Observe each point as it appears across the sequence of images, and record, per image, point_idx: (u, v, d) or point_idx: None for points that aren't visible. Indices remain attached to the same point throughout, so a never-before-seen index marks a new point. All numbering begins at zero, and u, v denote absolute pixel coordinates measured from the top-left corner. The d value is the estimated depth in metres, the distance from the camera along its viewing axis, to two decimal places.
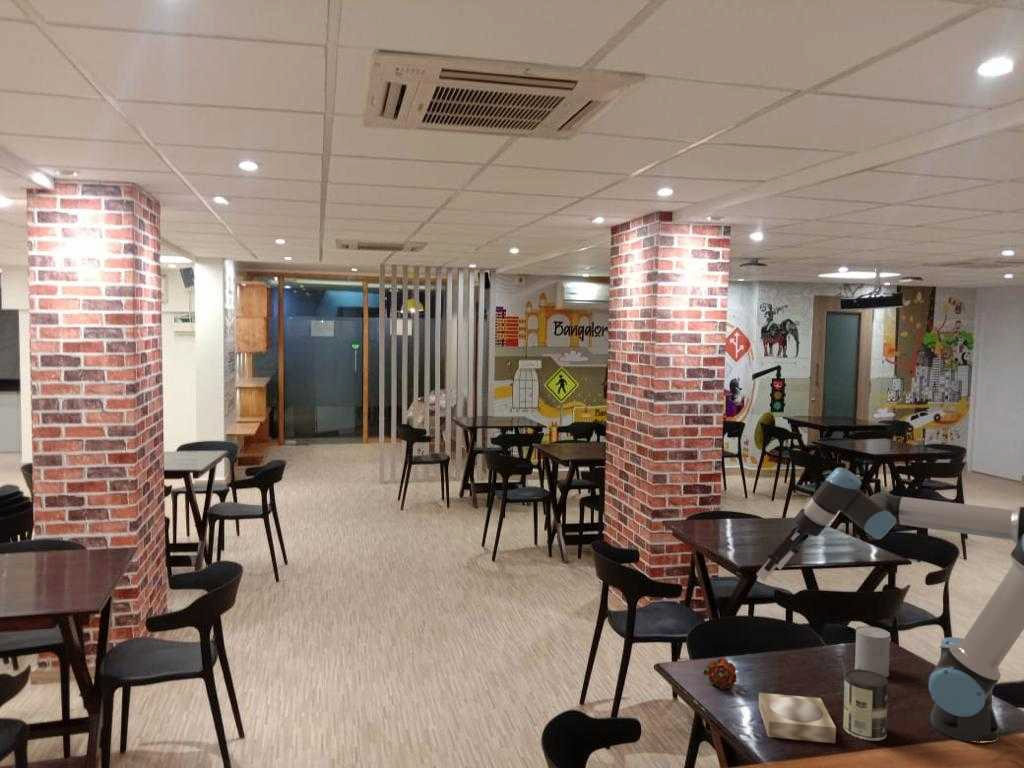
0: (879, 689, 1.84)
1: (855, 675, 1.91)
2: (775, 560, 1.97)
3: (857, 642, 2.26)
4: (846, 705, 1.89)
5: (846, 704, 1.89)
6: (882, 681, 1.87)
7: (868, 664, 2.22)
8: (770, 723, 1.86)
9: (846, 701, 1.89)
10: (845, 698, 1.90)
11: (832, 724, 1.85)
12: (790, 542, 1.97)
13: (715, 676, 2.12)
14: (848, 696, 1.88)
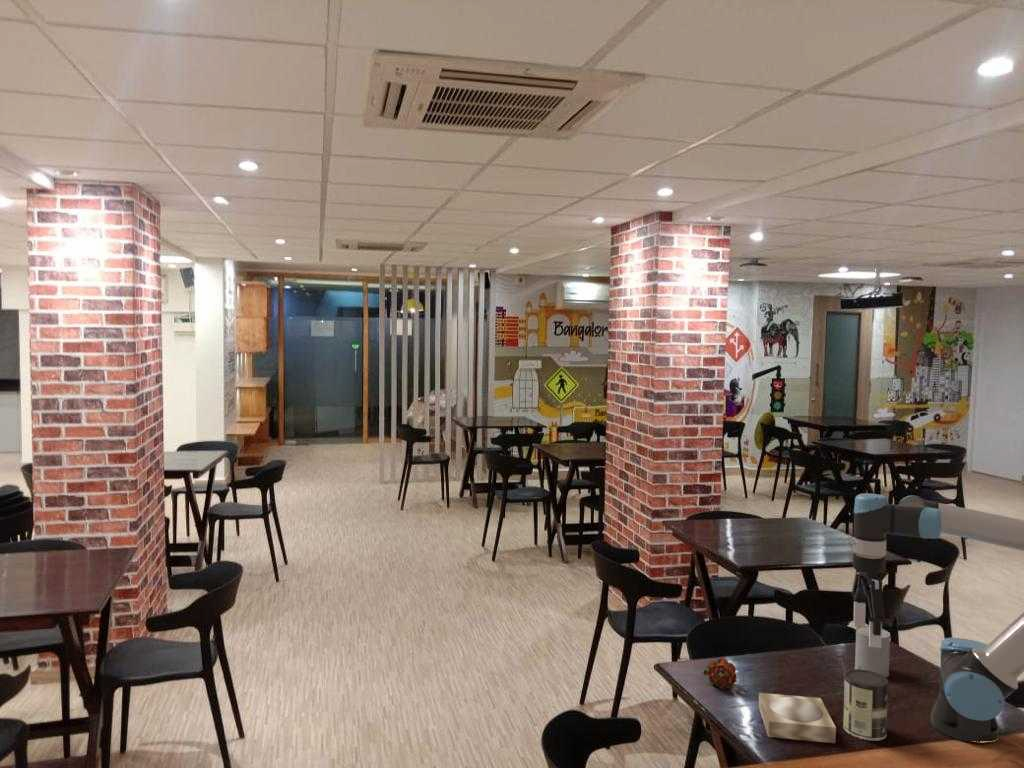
0: (879, 689, 1.84)
1: (855, 675, 1.91)
2: (882, 619, 1.79)
3: (857, 642, 2.26)
4: (846, 705, 1.89)
5: (846, 704, 1.89)
6: (882, 681, 1.87)
7: (868, 664, 2.22)
8: (770, 723, 1.86)
9: (846, 701, 1.89)
10: (845, 698, 1.90)
11: (832, 724, 1.85)
12: (878, 592, 1.81)
13: (715, 676, 2.12)
14: (848, 696, 1.88)
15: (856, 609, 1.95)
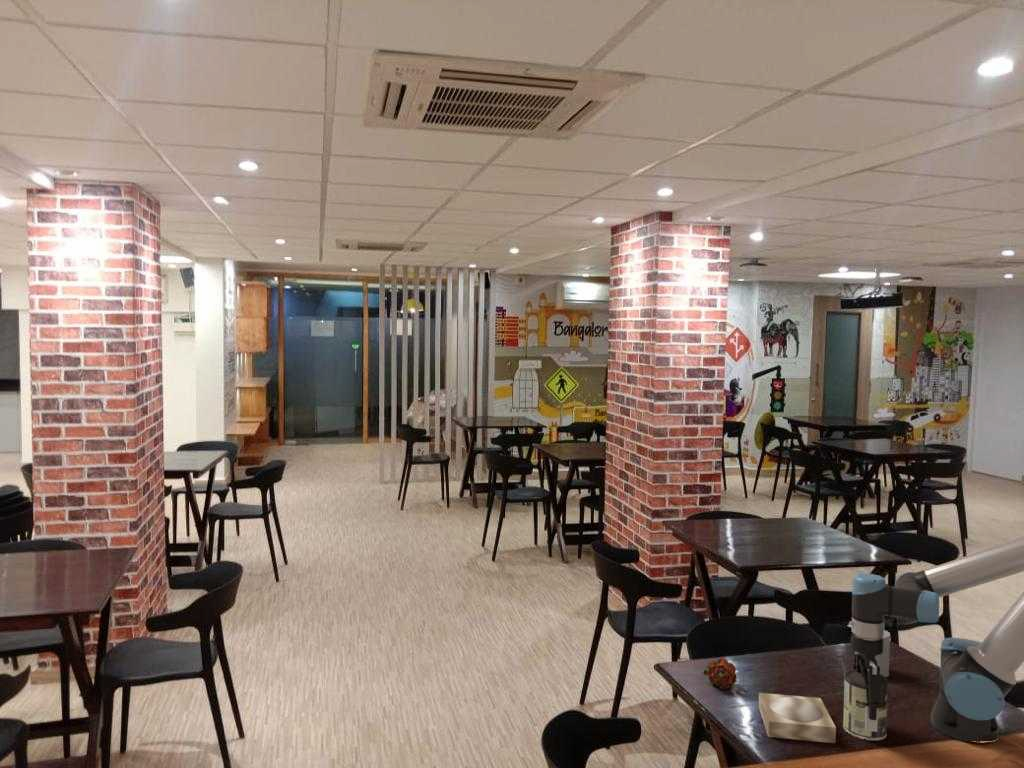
0: None
1: (855, 675, 1.91)
2: (878, 705, 1.81)
3: None
4: (846, 705, 1.89)
5: (846, 704, 1.89)
6: (882, 681, 1.87)
7: None
8: (770, 723, 1.86)
9: (846, 701, 1.89)
10: (845, 698, 1.90)
11: (832, 724, 1.85)
12: (875, 678, 1.82)
13: (715, 676, 2.12)
14: (848, 696, 1.88)
15: None
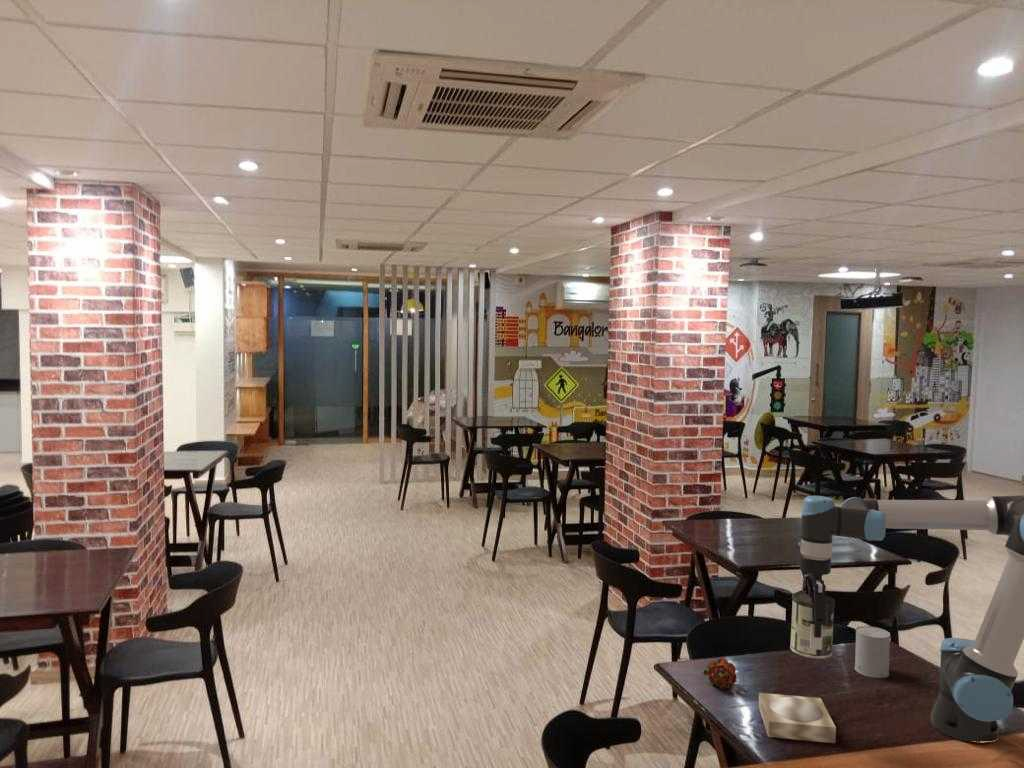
0: (825, 608, 1.86)
1: (803, 596, 1.92)
2: (822, 621, 1.83)
3: (857, 642, 2.26)
4: (793, 625, 1.91)
5: (793, 624, 1.91)
6: (828, 601, 1.89)
7: (868, 664, 2.22)
8: (770, 723, 1.86)
9: (793, 621, 1.91)
10: (792, 618, 1.92)
11: (832, 724, 1.85)
12: (821, 595, 1.84)
13: (715, 676, 2.12)
14: (795, 616, 1.90)
15: None
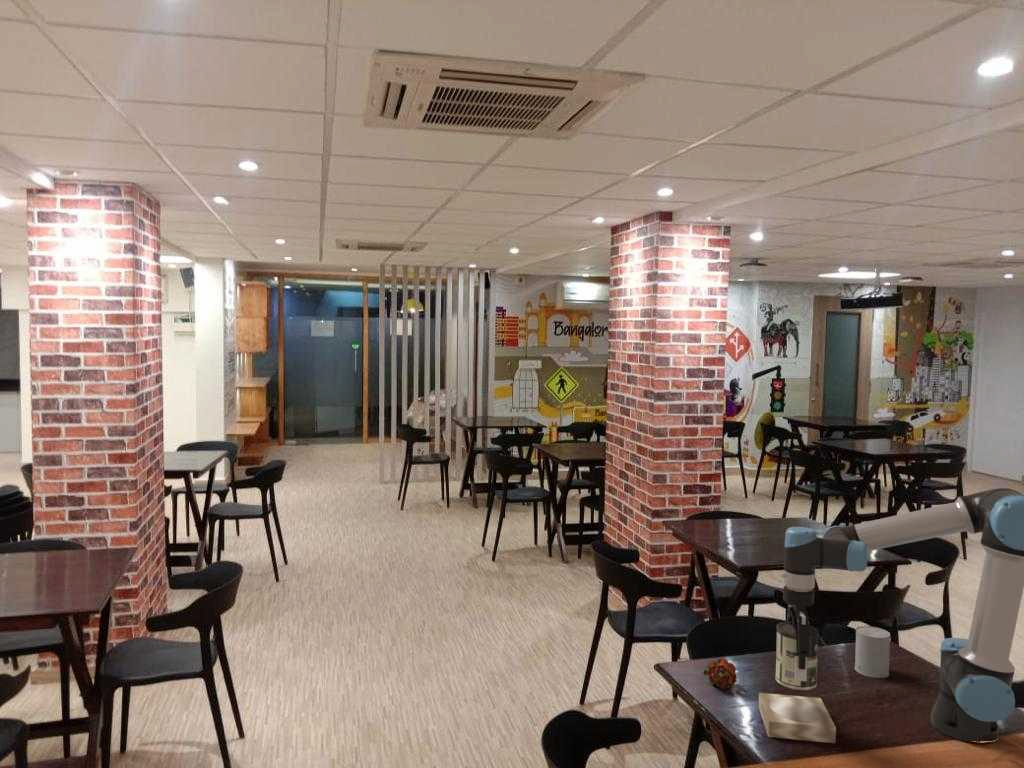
0: (809, 639, 1.87)
1: (787, 627, 1.93)
2: (806, 654, 1.83)
3: (857, 642, 2.26)
4: (778, 656, 1.92)
5: (778, 655, 1.92)
6: (812, 632, 1.90)
7: (868, 664, 2.22)
8: (770, 723, 1.86)
9: (778, 652, 1.92)
10: (777, 649, 1.93)
11: (832, 724, 1.85)
12: (804, 627, 1.85)
13: (715, 676, 2.12)
14: (779, 647, 1.91)
15: None
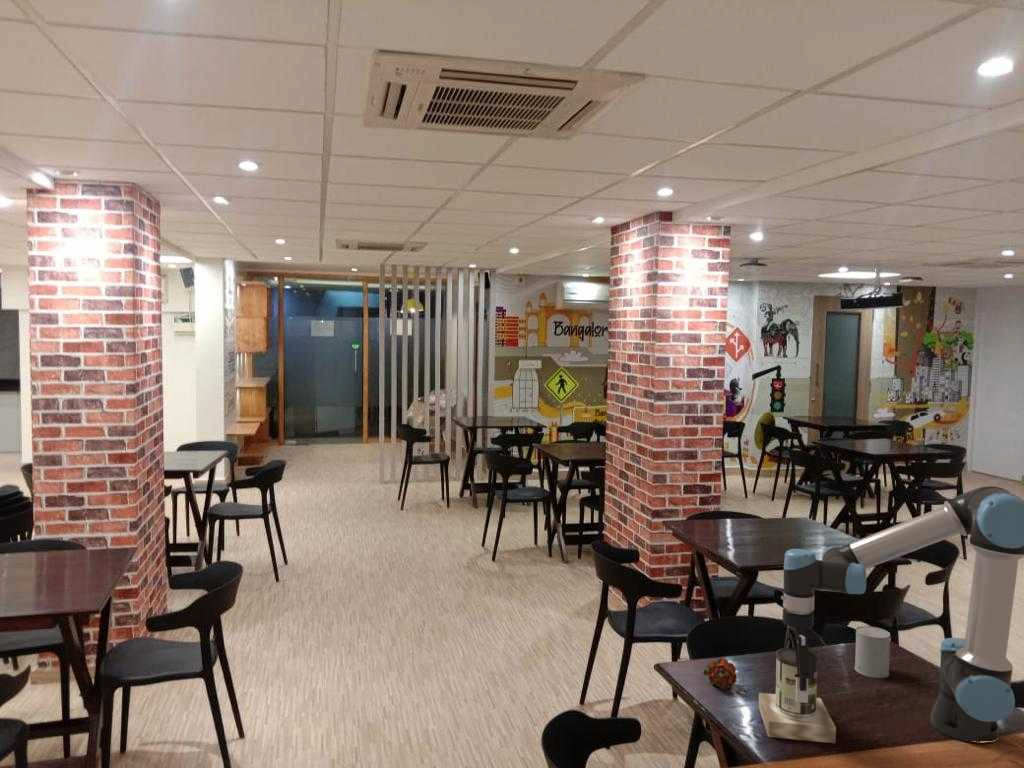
0: None
1: (787, 653, 1.94)
2: (807, 675, 1.82)
3: (857, 642, 2.26)
4: (777, 682, 1.92)
5: (777, 681, 1.92)
6: (811, 659, 1.90)
7: (868, 664, 2.22)
8: (770, 723, 1.86)
9: (777, 679, 1.92)
10: (776, 676, 1.93)
11: (832, 724, 1.85)
12: (804, 648, 1.85)
13: (715, 676, 2.12)
14: (779, 674, 1.91)
15: None
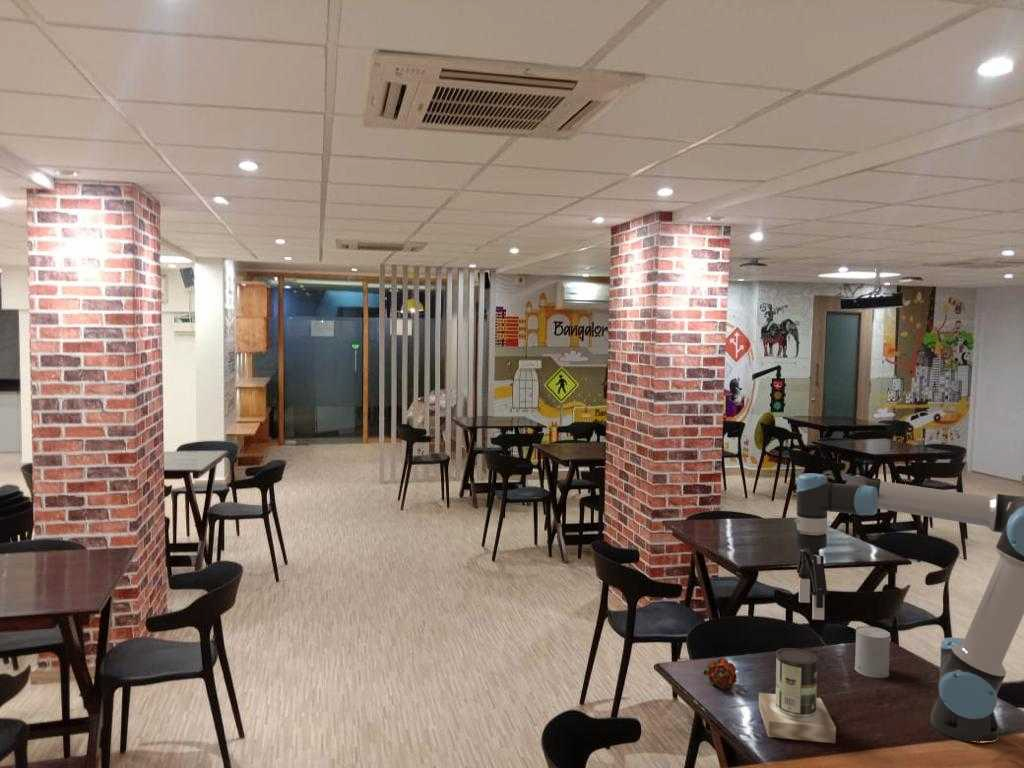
0: (808, 666, 1.88)
1: (787, 653, 1.94)
2: (824, 592, 1.87)
3: (857, 642, 2.26)
4: (777, 682, 1.92)
5: (777, 681, 1.92)
6: (811, 659, 1.90)
7: (868, 664, 2.22)
8: (770, 723, 1.86)
9: (777, 679, 1.92)
10: (776, 676, 1.93)
11: (832, 724, 1.85)
12: (820, 566, 1.90)
13: (715, 676, 2.12)
14: (779, 674, 1.91)
15: (801, 585, 2.04)
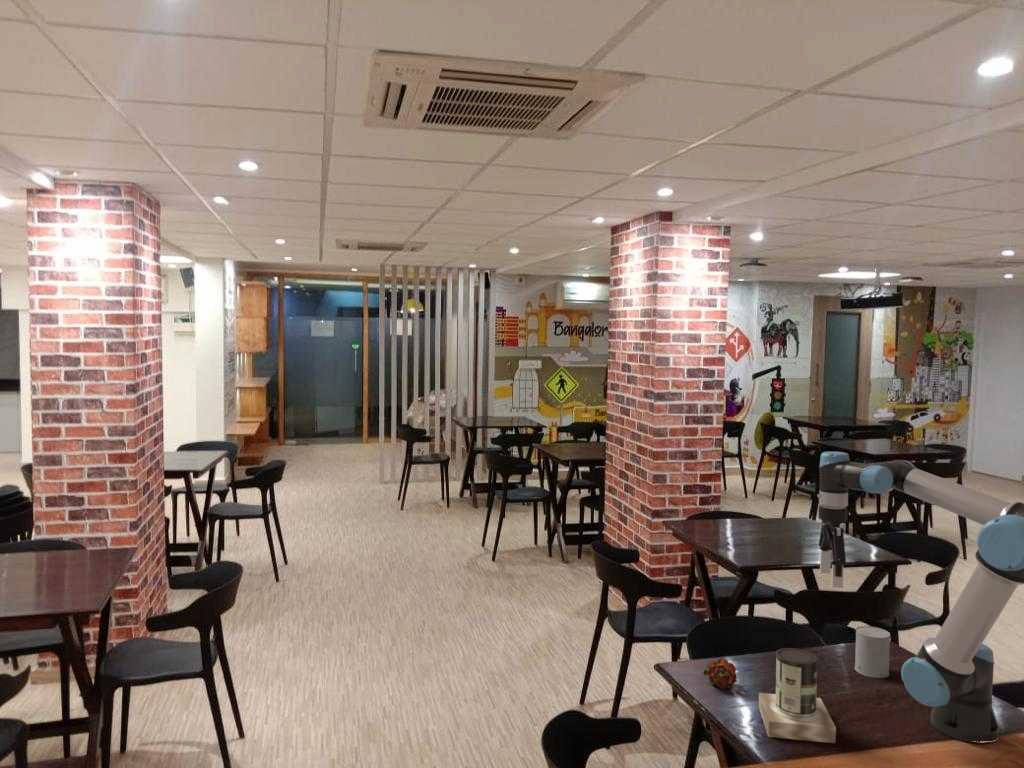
0: (808, 666, 1.88)
1: (787, 653, 1.94)
2: (843, 561, 2.00)
3: (857, 642, 2.26)
4: (777, 682, 1.92)
5: (777, 681, 1.92)
6: (811, 659, 1.90)
7: (868, 664, 2.22)
8: (770, 723, 1.86)
9: (777, 679, 1.92)
10: (776, 676, 1.93)
11: (832, 724, 1.85)
12: (839, 538, 2.02)
13: (715, 676, 2.12)
14: (779, 674, 1.91)
15: (822, 557, 2.16)
